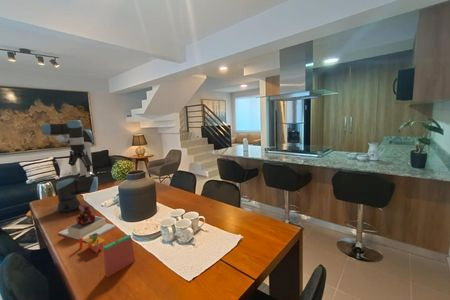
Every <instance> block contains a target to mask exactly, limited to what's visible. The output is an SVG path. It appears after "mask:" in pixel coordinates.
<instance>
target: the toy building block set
mask: <svg viewBox="0 0 450 300" xmlns="http://www.w3.org/2000/svg"><path fill="white" fill-rule="evenodd" d="M84 240H86V241H87V242H86V243H87V244H88V248H89V249H90V250H92V251H93V253H94V252H95V254H97V253H99V251H101V252H103V261H104V263H103V264H104V275H105V277H106V278H109V277H111V276H113V275H114V274H115V273H117V272H119V271H121V270H123V269H125V268H126V267H127V266H129V265H131V264H132V263H134V262H135V261H136V259H135V258H136V257H135V253H134V247H133V240H132V235H130V234H128V235H126V236H124V237H121V238H116V240H115V241H113V242H111V243H109V244H107V245H104V246H103V244H104V243H105V242H106V240H105V239H103V238H102V237H100V236H99V234H97V233H94V234H92V235H89V237H88V238H86V239H84ZM78 243H79V250H82V249H83V247H84V246H83V245H84V244H83V243H84V241H83V238H82V237H81V236H80V237H79V240H78Z"/></svg>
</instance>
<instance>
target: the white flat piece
mask: <svg viewBox="0 0 450 300" xmlns="http://www.w3.org/2000/svg"><path fill="white" fill-rule="evenodd" d="M94 216H95V221H93V222H87V223H86V224H85V225H81V223H78V222H77V223H74V224H72V225H69V226H67V227H66V228H65V229H63V230H61V231H59V232H58V234H59V235H62V236H65V237H68V238H72V239H76V240H78V241H79V237H80V236H81V237H82V238H83V241H82V242H86V243H88V242H87V241H86V240H84V239H86V238H88V237H89V235H92V234H94V233H97V234H99V237H100V236H102V235H104V234H105V233H107V232H109V231H110V230H113V229H115V228H116V227H117V225H116V224H111V223H109V222H108V223H107V221H106V220H107V219H106V218H105V217H102V216H97V215H94Z"/></svg>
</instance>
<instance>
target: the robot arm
mask: <svg viewBox="0 0 450 300" xmlns="http://www.w3.org/2000/svg"><path fill="white" fill-rule="evenodd" d="M40 130H41V134H42V136H45V137H47V136H48V137H50V136H52V137H53V138H54V139H55V140H56V141H57V143H58V142H59V143H61V144H67V145H69V147H70V151H69V158H68V165H70V166H71V174H72V176H76V175H78V168H77V164H76V163H77V161H79V164H78V165H79V173H80V175H78V177H77V179H76V178H74V177H71V178H69V177H68V178H66V179H63V180H59V181H58V182H56V184H55V187H56V188H55V189H56V195H57V199H58V202H57V206H56V212H57V214H68V213H72V212H76V211H78V210H80V209H79V205H81V204H82V203H81V202H80V201H79V200H80V199H78V195H84V194H90V193H96V192H97V190H98V188H99V186H98V185H99V178H98V176H96V174H94V169H93V161H92V158H93V157H92V148H91V147H92V146H93V144H94V143H95V141H94V137H93V133H92V131H91V129H86V128H85V129H84V126H83V124H82V121H81V120H80V119H74V120H73V119H72V120H71V119H69V120H67V122H66V123H44V124H43V123H42V124H41V127H40Z"/></svg>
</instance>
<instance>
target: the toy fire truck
mask: <svg viewBox="0 0 450 300" xmlns="http://www.w3.org/2000/svg"><path fill="white" fill-rule="evenodd" d="M78 210H79V216H77V217H76V219H75V220H76V222H77V223H81V225H85V224H86V223H87V222H93V221H95V216H96V215H95V214H92V212H91V209H90V207H89V205H88V206H87V205H85V204H82V203H81V205H79V209H78Z"/></svg>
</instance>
